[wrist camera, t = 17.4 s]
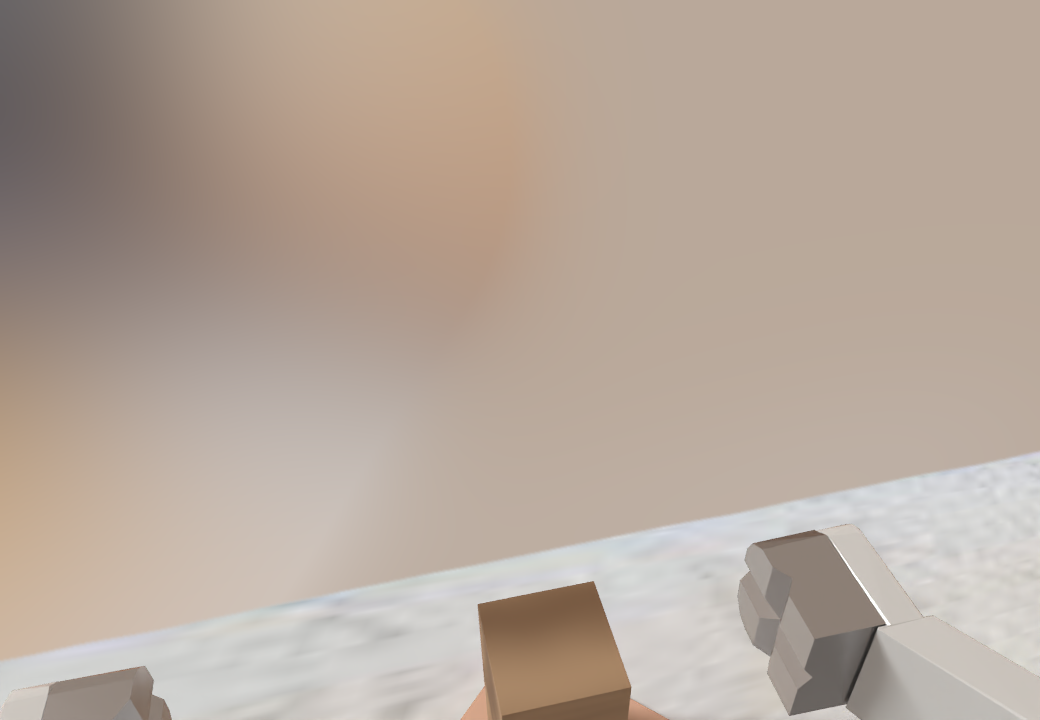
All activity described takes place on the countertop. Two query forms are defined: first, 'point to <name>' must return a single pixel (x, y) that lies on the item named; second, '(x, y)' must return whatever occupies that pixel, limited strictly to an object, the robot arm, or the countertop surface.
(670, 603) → the countertop surface
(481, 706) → the pad
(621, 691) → the walnut block
